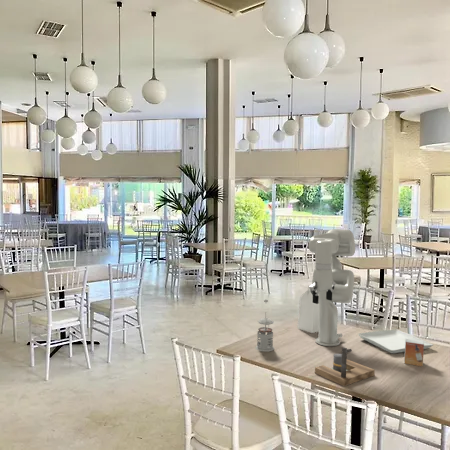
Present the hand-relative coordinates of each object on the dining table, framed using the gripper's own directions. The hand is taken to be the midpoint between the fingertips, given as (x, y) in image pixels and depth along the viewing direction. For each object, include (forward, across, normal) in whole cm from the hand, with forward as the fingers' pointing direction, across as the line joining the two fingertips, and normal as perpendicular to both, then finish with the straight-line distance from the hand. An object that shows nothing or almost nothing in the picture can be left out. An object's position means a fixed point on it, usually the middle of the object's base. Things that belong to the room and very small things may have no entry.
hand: (322, 301), depth 214 cm
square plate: (+29, -45, +11) cm, 55 cm away
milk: (+29, -29, -33) cm, 53 cm away
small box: (+28, -29, +31) cm, 51 cm away
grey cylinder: (+26, +9, +18) cm, 33 cm away
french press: (+27, +15, -24) cm, 39 cm away
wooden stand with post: (+26, +9, +21) cm, 35 cm away
